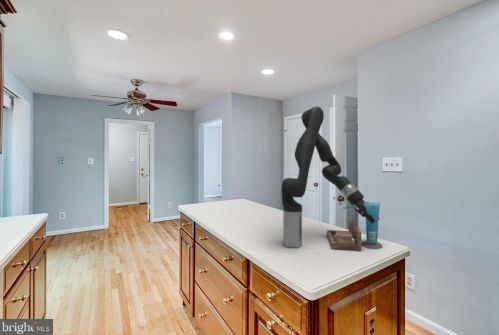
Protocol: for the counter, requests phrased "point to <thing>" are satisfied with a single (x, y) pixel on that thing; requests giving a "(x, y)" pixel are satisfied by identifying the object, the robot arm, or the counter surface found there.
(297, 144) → the robot arm
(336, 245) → the rack
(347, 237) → the offcut stack
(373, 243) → the coaster
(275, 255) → the counter surface
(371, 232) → the tube
